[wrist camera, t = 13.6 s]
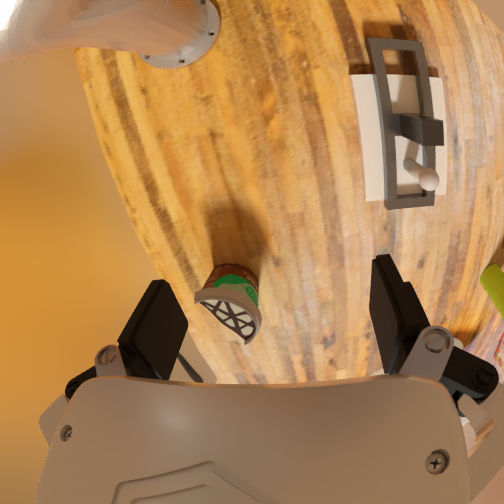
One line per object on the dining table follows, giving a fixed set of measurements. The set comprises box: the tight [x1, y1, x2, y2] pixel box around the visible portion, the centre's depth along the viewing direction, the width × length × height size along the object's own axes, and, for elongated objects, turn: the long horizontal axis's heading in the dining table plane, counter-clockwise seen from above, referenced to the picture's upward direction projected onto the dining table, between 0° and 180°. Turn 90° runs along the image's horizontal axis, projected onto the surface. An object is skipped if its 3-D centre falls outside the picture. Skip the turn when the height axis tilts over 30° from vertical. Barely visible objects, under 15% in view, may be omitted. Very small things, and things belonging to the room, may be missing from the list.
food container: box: [194, 264, 262, 345], centre depth 44 cm, size 12×6×10 cm, turn 40°
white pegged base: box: [349, 74, 447, 202], centre depth 27 cm, size 18×14×9 cm
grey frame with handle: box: [365, 38, 444, 210], centre depth 26 cm, size 24×8×8 cm, turn 12°
